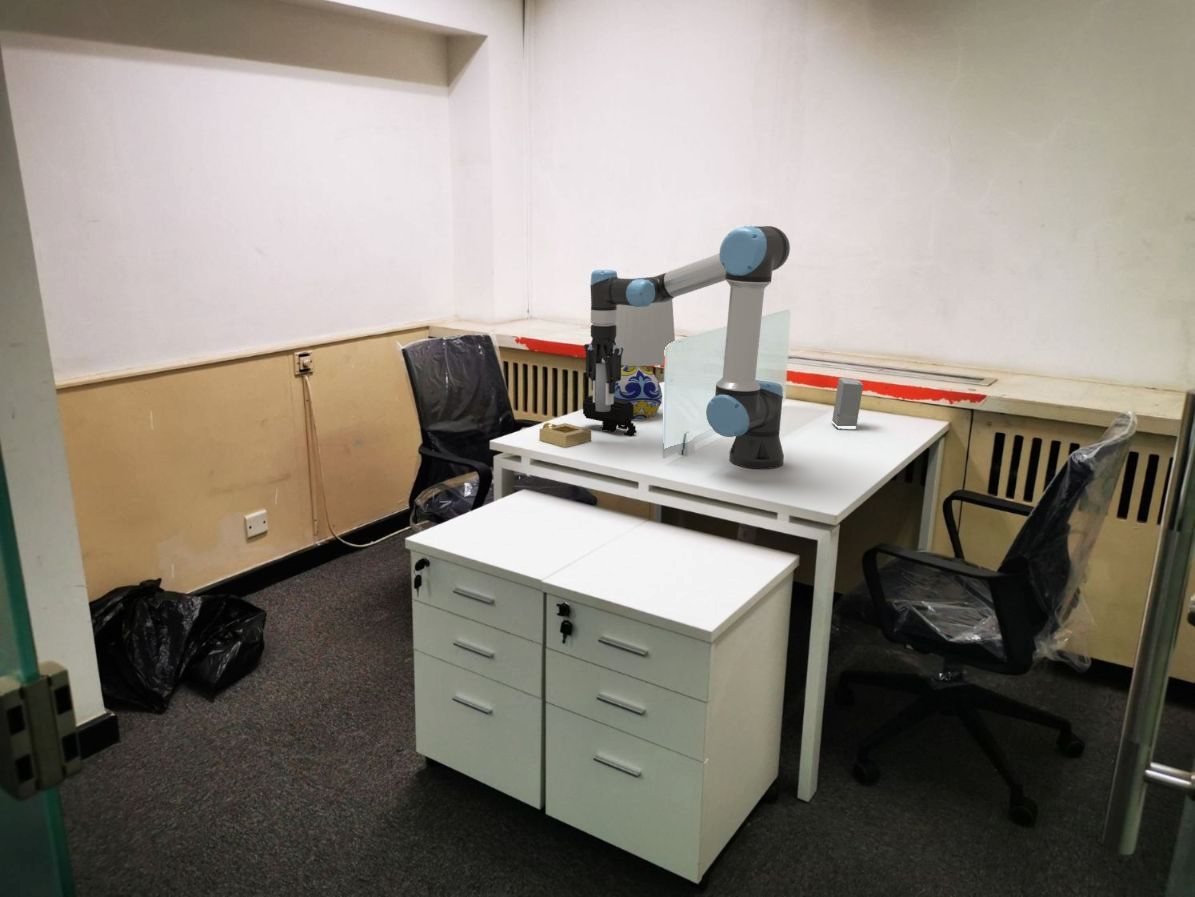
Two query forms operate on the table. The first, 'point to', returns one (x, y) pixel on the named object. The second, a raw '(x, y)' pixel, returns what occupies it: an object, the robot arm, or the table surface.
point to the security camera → (612, 415)
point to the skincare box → (847, 402)
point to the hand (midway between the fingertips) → (603, 402)
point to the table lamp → (642, 354)
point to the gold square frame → (564, 434)
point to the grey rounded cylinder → (601, 388)
